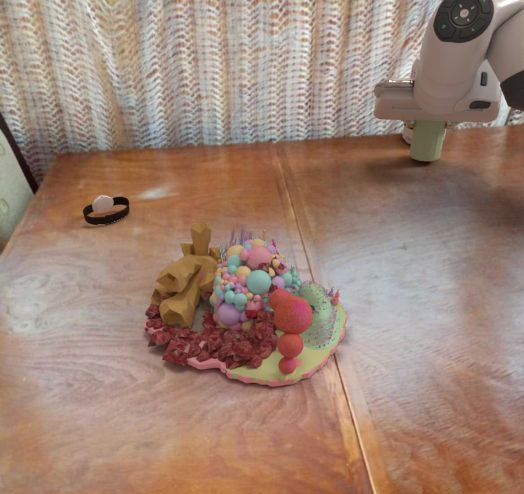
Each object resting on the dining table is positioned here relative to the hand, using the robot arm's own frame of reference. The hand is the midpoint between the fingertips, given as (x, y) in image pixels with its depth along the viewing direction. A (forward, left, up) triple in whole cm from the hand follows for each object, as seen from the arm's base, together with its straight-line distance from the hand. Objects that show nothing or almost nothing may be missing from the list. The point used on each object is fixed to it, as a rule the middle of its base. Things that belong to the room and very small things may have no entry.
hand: (429, 124), depth 97 cm
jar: (0, +1, -5) cm, 5 cm away
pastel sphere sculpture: (+23, +52, -7) cm, 57 cm away
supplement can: (0, -9, -7) cm, 11 cm away
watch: (+51, +30, -7) cm, 59 cm away
